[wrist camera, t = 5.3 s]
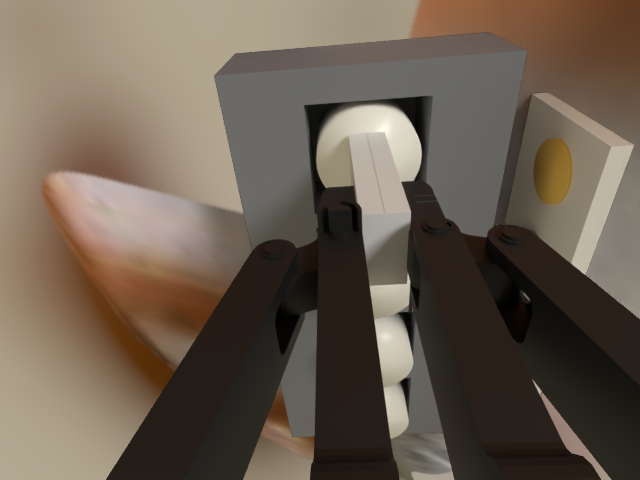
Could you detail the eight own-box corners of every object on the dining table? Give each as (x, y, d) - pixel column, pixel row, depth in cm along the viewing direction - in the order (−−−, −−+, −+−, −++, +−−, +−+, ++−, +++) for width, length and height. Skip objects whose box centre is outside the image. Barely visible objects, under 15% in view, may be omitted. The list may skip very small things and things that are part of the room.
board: (235, 53, 20) (214, 75, 16) (488, 32, 19) (527, 50, 15) (295, 385, 34) (292, 436, 31) (439, 380, 34) (453, 432, 30)
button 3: (330, 300, 25) (330, 339, 22) (406, 297, 25) (415, 335, 22) (334, 351, 27) (335, 390, 25) (403, 348, 27) (411, 387, 25)
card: (527, 94, 21) (604, 147, 15) (548, 92, 21) (634, 145, 15) (473, 355, 32) (505, 442, 26) (487, 354, 32) (522, 442, 26)
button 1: (313, 92, 19) (311, 112, 17) (412, 84, 19) (425, 103, 16) (321, 180, 22) (320, 208, 19) (408, 174, 22) (418, 203, 19)
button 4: (336, 364, 28) (336, 403, 26) (403, 362, 28) (410, 401, 25) (339, 404, 31) (340, 442, 28) (400, 402, 31) (407, 441, 28)
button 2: (323, 217, 21) (322, 250, 19) (411, 211, 21) (422, 245, 19) (328, 283, 24) (329, 320, 22) (407, 279, 24) (416, 317, 21)
